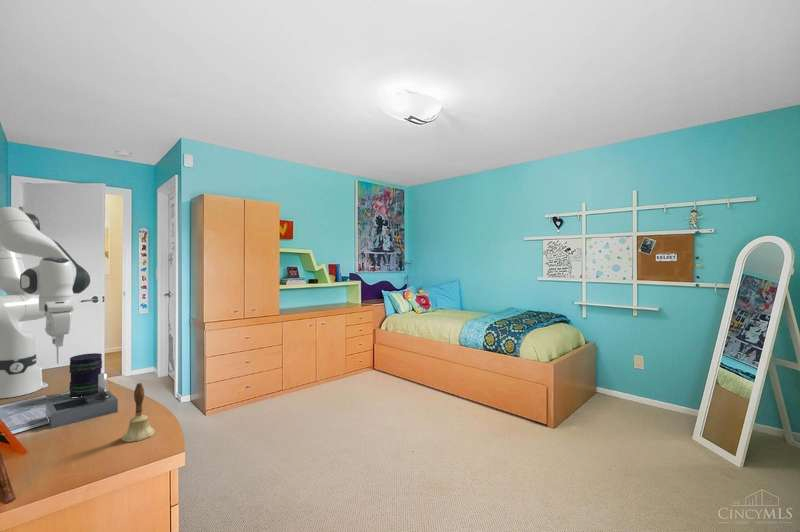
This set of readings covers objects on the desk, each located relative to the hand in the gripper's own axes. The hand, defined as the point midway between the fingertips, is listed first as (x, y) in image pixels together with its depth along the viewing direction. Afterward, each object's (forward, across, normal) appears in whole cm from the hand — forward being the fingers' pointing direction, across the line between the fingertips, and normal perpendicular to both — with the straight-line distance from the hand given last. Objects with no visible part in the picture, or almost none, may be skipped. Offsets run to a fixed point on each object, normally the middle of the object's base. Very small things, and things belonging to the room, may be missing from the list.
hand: (57, 345), depth 125 cm
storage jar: (+24, -19, +10) cm, 32 cm away
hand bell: (+25, +37, +14) cm, 47 cm away
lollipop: (+6, 0, 0) cm, 6 cm away
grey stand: (+24, +5, +5) cm, 25 cm away
